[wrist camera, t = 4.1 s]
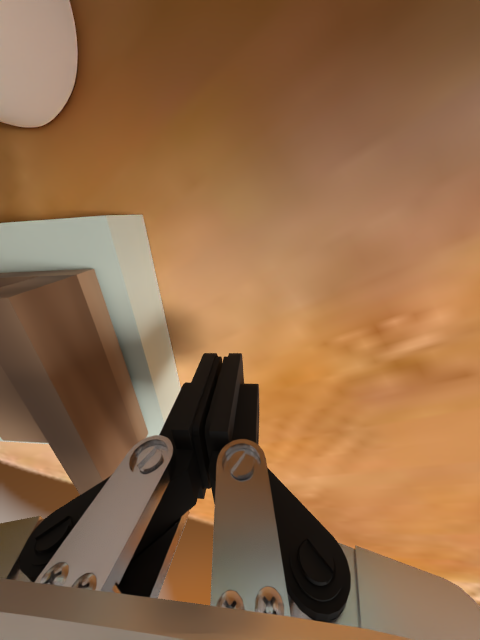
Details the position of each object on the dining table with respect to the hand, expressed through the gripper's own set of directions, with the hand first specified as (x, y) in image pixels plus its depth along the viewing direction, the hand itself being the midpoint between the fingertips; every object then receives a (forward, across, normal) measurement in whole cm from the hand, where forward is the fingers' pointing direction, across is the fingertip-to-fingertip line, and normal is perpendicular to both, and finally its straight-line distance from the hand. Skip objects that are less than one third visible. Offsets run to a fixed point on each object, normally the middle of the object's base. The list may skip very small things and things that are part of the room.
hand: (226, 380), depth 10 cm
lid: (+1, +10, 0) cm, 10 cm away
